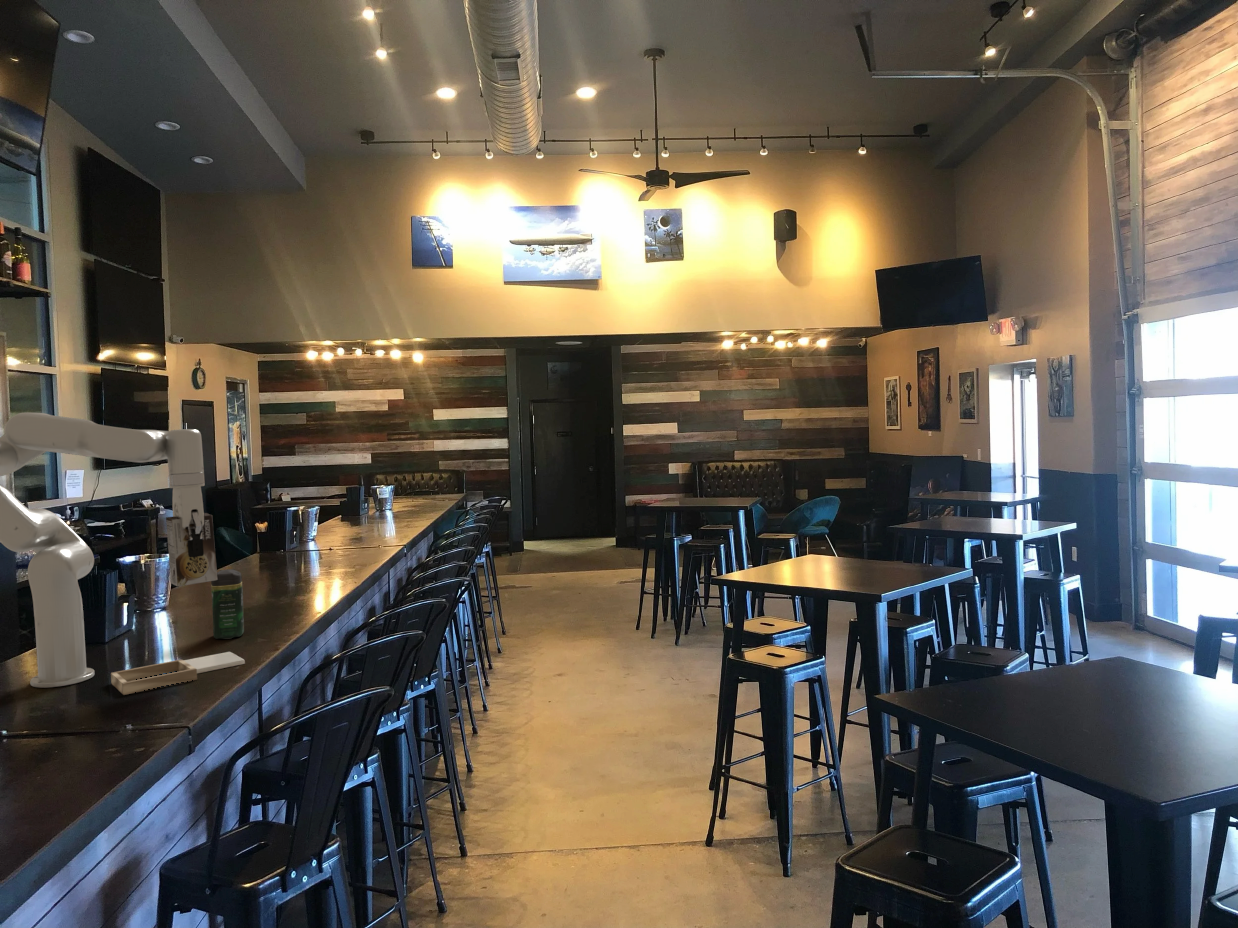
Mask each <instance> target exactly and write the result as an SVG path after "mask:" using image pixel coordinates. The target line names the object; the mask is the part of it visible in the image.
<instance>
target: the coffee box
mask: <svg viewBox="0 0 1238 928" xmlns="http://www.w3.org/2000/svg"><path fill="white" fill-rule="evenodd" d="M165 521H166V523H165V524H166V525H165V526H166V533H167V534H166V536H167V548H168V561H169V572H170V584H172V585H173V586H176V587H182V586H189V585H196V584H200V583H206V582H211V581H215V580H217V572H218V571H217V570H218V569H217V558H216V548H215V547H216V546H215V535H214V534H215V533H214V523H213V522H214V521H213V515H212V514H209V513H208V512H204V525H203V526H202V527H201V530H202V537H203V538H202V539H203V551H204V555H203V556H198V557H189V555H188V540H189V537H188V527H185V529H181V521H180V518H177V517H173V516H168V517H165ZM201 524H202V521H201ZM189 526H190V527H194V524H189ZM192 531H193V530H191V533H192Z"/></svg>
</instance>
